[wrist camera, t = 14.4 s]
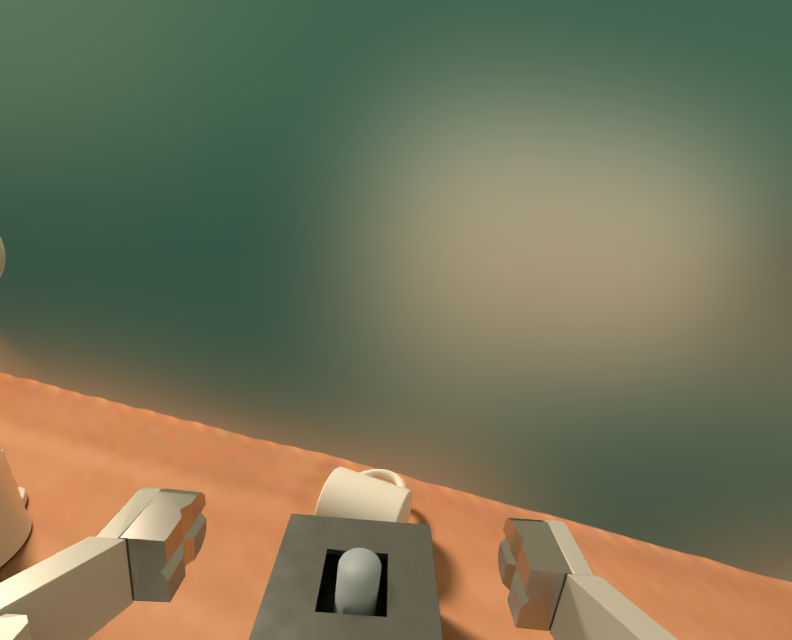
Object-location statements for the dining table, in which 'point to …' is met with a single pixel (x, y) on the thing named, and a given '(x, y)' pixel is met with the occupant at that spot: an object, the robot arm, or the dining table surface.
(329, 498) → the mug
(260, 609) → the grey square box
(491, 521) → the dining table surface
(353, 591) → the grey rounded cylinder
